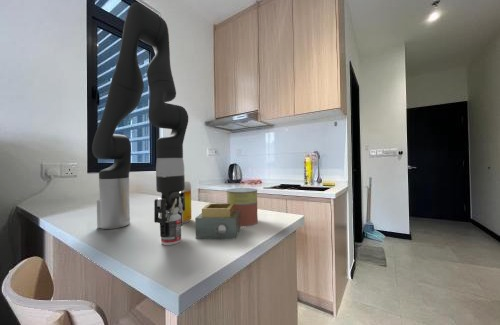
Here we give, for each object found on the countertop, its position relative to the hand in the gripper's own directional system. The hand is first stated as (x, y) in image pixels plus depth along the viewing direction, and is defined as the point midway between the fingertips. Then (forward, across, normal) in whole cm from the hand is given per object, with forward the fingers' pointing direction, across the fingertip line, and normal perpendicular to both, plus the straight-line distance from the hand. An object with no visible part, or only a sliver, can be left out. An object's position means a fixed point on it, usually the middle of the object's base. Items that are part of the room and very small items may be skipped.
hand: (172, 231), depth 60 cm
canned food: (+3, -20, +18) cm, 27 cm away
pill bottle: (+3, 0, 0) cm, 3 cm away
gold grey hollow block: (+3, -7, +12) cm, 14 cm away
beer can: (+3, -21, -5) cm, 22 cm away
